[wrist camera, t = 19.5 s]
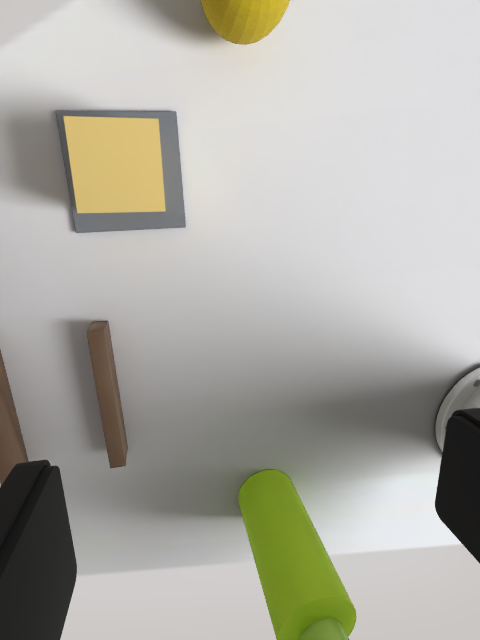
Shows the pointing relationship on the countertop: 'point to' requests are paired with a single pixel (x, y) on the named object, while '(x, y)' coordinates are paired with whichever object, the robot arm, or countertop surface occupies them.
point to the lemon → (244, 18)
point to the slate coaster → (171, 178)
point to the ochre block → (115, 164)
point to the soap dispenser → (293, 562)
